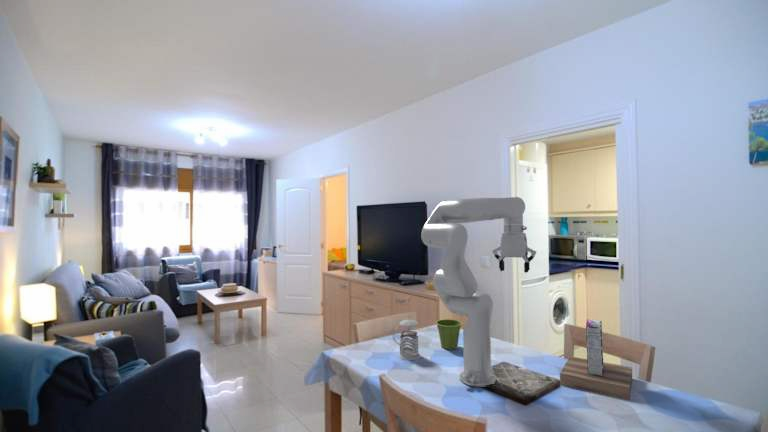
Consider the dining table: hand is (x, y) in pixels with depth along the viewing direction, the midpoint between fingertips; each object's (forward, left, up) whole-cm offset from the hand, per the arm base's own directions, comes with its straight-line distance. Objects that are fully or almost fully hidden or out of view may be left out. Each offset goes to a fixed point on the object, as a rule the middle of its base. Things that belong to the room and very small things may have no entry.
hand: (514, 271), depth 151 cm
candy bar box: (-4, -29, -32) cm, 43 cm away
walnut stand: (-4, -29, -36) cm, 47 cm away
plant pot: (+1, +30, -36) cm, 47 cm away
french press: (-19, +40, -36) cm, 57 cm away
